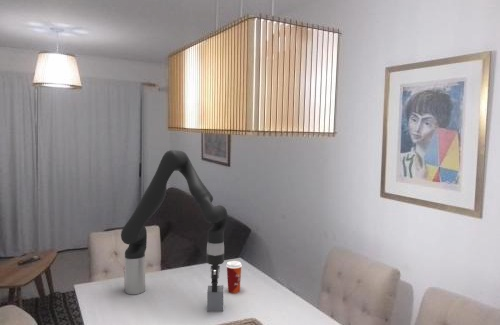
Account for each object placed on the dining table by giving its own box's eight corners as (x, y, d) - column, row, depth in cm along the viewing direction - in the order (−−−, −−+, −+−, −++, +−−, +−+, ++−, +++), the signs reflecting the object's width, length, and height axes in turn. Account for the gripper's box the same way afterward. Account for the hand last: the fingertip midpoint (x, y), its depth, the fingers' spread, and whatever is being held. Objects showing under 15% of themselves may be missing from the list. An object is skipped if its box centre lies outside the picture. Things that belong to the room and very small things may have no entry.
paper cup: (239, 295, 187) (240, 266, 186) (224, 293, 188) (224, 265, 187) (243, 288, 194) (243, 260, 193) (228, 287, 196) (228, 259, 195)
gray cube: (207, 311, 169) (207, 291, 169) (208, 304, 176) (208, 285, 175) (223, 311, 170) (223, 291, 169) (223, 304, 176) (223, 285, 176)
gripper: (207, 246, 178) (207, 281, 179) (205, 257, 163) (205, 294, 165) (224, 246, 178) (223, 281, 179) (223, 257, 164) (223, 294, 165)
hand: (214, 288), depth 172 cm, fingers open, 8 cm apart
